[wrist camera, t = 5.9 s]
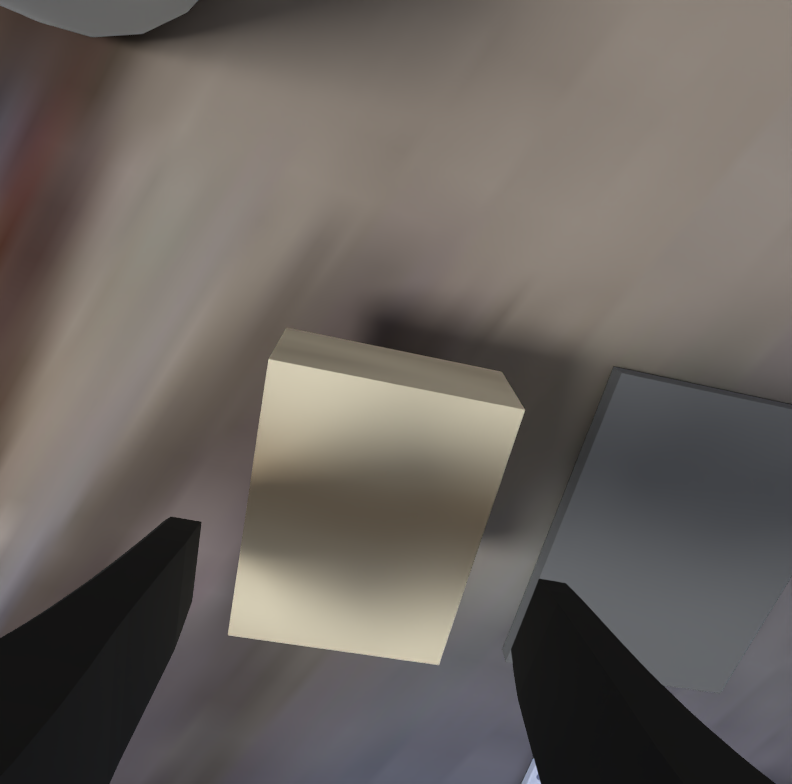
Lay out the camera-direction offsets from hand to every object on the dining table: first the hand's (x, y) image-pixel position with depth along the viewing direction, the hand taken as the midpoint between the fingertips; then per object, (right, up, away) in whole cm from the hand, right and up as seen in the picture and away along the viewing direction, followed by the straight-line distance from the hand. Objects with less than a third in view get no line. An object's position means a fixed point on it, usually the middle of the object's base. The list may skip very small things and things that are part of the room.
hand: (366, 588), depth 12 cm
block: (0, +2, +4) cm, 4 cm away
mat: (+11, -1, +8) cm, 14 cm away
